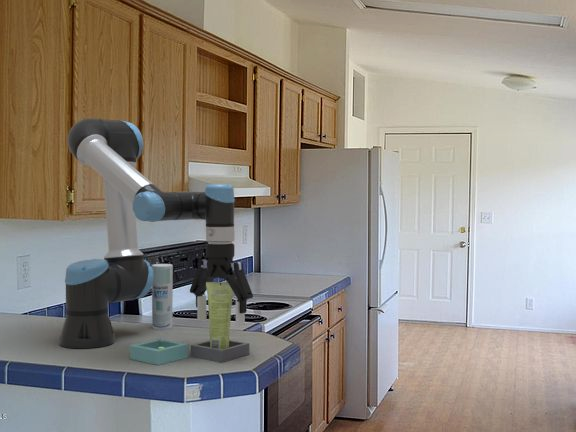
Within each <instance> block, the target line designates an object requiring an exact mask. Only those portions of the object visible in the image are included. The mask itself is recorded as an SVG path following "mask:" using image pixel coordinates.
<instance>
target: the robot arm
mask: <svg viewBox="0 0 576 432" xmlns="http://www.w3.org/2000/svg"><path fill="white" fill-rule="evenodd" d="M67 146H68V149H69V152H70V153H71V155H72V156H73V157H74V158H75V159H76V161H78V162H79V163H80V164H82V165H85V166H89V167H90V168H92V170H94V171H95V172H96V173H97V174H98V175H100V176H101V177H102V179H103V193H104V205H105V208H104V209H105V217H106V218H105V219H106V232H107V233H106V234H107V243H108V245H107V246H108V252H107V253H106V254H105V255H104V256H103V258H104V259H103V258H94V259H93V258H91V259H84V260H83V259H82V260H80V261H76V262H73V263H70V264H69V265H67V267H66V269H65V279H64V283H65V319H64V322H63V325H62V329H61V332H60V335H59V346H61V347H64V348H70V349H92V348H100V347H101V348H102V347H106V346H109V345H112V344H114V343H115V341H116V335H115V331H114V329H113V326H112V325H113V324H112V322H111V319H110V317H109V304H112V303H119V302H125V301H134V300H137V299H141V298H143V297H145V296H147V294H148V293H149V291H150V290H152V284H153V278H154V275H153V269H152V265H151V264H150V262H148V260H145V257H144V253H143V252H142V251H141V250H140V249H139V246H138V244H139V243H138V232H137V219H138V220H139V221H142V222H151V223H155V222H164V221H166V222H167V221H186V220H187V221H188V220H189V221H190V220H191V221H192V220H200V221H201V220H205V241H206V245H205V257H206V258H207V259H206V258H205V259H198V262H197V269H196V272H195V274H194V278H193V280H192V283H191V286H190V288H189V293H190V294H193V295H194V296H195V308H196V309H197V310H196V311H197V312H196V314H197V317H196V318H197V321H199V322H200V321H204V320H205V321H207V295H206V292H207V288H206V282H213V281H214V279H218V278H219V279H223V280H225V281H226V282H227V283H228V284H229V285H230V287H231V289H232V290H233V295H234V296H236V297H235V298H237V299H236V300H235V327H241V326H245V325H246V323H245V322H246V320H245V317H246V315H245V314H246V313H247V301H248V300H249V299H253V297H254V295H253V294H254V293H253V291H252V290H251V289H252V288H251V286H250V284H249V281H248V279H247V276H246V274H245V270H244V263H243V262H242V261H237V262H234V257H235V243H233V242H234V241H235V202H236V199H235V192H234V190H235V189H234V187H233V185H232V184H230V183H229V184H226V183H225V184H224V183H222V184H221V183H220V184H219V183H218V184H215V183H214V184H212V183H211V184H206V185H205V190H204V191H189V190H188V191H164V190H162V189H161V188H159V187H158V186H157V185H155V184H154V183H153V182H151V180H149V178H147V177H145V176H144V175H143V174H142V173H141V172H140V171H138V170H137V169H136V168H135V167H136V165H137V159H138V158H140V157H141V155H142V151H143V149H144V138H143V136H142V133H141V130H140V129H139V128H138V127H137V126H136V125H135V124H133V123H132V122H129V121H124V120H121V119H119V120H117V119H115V120H114V119H103V118H93V117H88V118H83V119H81V120H78V121H77V122H75V123H74V124H73V125H72V126H71V128H70V129H69V132H68V135H67Z"/></svg>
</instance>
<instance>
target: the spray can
mask: <svg viewBox="0 0 576 432" xmlns="http://www.w3.org/2000/svg"><path fill="white" fill-rule="evenodd" d="M151 267H152V269H153V275H154V278H153V284H152V287H151V311H152V313H151V315H152V320H151V322H152V327H151V328H152V329H153V330H155V331H167V330H171V329H173V295H174V294H173V292H174V291H173V286H174V285H173V284H174V283H173V279H174V278H173V276H174V275H173V272H174V271H173V270H174V269H173V268H174V266H173V264H171V263H155V264H151Z"/></svg>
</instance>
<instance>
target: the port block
mask: <svg viewBox="0 0 576 432" xmlns="http://www.w3.org/2000/svg"><path fill="white" fill-rule="evenodd" d="M129 353H130V354H129V359H130V360H133V361H137V362H142V363H147V364H151V365H156V366H160V365H164V364H168V363H172V362H176V361H180V360H183V359H186V358H187V359H188V358H189V344H188V343H185V342H179V341H174V340H169V339H165V338H158V339H154V340H148V341H145V342H140V343H136V344H131V345H129Z"/></svg>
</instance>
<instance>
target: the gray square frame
mask: <svg viewBox="0 0 576 432" xmlns="http://www.w3.org/2000/svg"><path fill="white" fill-rule="evenodd" d="M249 355H250V342H249V343H248V342H244V341H238V340H233V339H229V348H225V349H222V350H221V349H216V348H210V339H209V340H205V341H201V342H197V343H193V344H190V357H193V358H199V359H203V360H206V361H207V360H208V361H213V362H217V361H218V363H225V362H228V360H229V361H232V360H235V359H238V358H242V357H246V356H249ZM224 361H225V362H224Z"/></svg>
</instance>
